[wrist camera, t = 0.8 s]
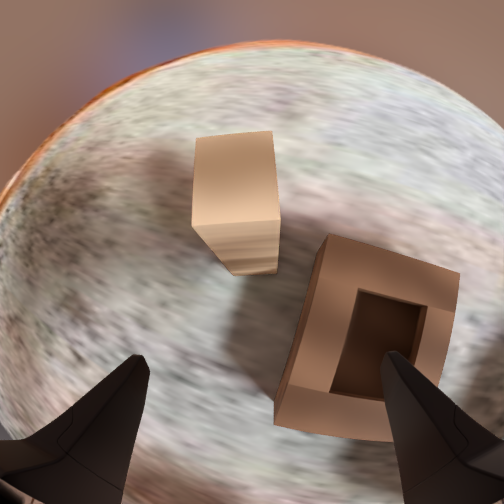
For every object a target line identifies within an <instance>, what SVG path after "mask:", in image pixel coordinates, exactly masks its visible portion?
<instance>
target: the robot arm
mask: <svg viewBox="0 0 504 504" xmlns="http://www.w3.org/2000/svg"><path fill="white" fill-rule="evenodd" d="M380 374H381V380H382V387H383V394H384V401H385V407H386V411H387V415H388V419H389V424H390V428H391V432H392V437H393V441H394V446H395V451H396V455H397V461H398V466H399V471H400V477H401V483H402V489H403V493H404V494H403V496H404V503H405V504H504V440H501V439H499V438H498V437H496V436H495V435H493V434H492V433H491V432H489V431H488V430H487V429H485V428H484V427H483V426H481V425H480V424H479V423H477V422H476V421H475V420H473V419H472V418H471V417H470V416H468V415H467V414H466V413H465V412H464V411H463V410H462V409H461V408H460V407H458V406H457V405H455V403H454V402H453V401H452V400H451V399H450V398H449V397H448V396H446V395H445V394H444V393H443V392H442V391H441V390H440V389H439V388H438V387H437V386H435V385H434V384H433V383H432V382H431V381H430V380H429V379H428V378H427V377H426V376H424V375H423V374H422V373H421V372H420V371H419V370H418V369H417V368H416V367H414V366H413V365H412V364H411V363H410V362H409V361H408V360H407V359H405V358H404V357H403V356H402V355H401V354H400V353H399V352H397V351H389V352H386V353H385V355H384V358H383V361H382V363H381V366H380ZM149 376H150V369H149V367H148V365H147V363H146V360H145V358H144V357H143V356H142V355H136V354H133V355H131V356H130V357H129V358H128V359H127V360H125V361H124V362H123V363H122V364H121V365H120V366H118V367H117V368H116V369H115V370H114V371H112V372H111V373H110V374H109V375H108V376H107V377H105V378H104V379H103V380H102V381H101V382H99V383H98V384H97V385H96V386H95V387H94V388H92V389H91V390H90V391H89V392H88V393H87V394H85V395H84V396H83V397H82V398H81V399H79V400H78V401H77V402H76V403H75V404H74V405H73V406H71V407H70V408H69V409H68V410H66V411H65V412H64V413H63V414H61V415H60V416H59V417H58V418H56V419H55V420H53V421H52V422H51V423H49V424H48V425H46V426H45V427H43V428H42V429H40V430H39V431H37V432H36V433H34V434H33V435H31V436H30V437H27V438H25V439H21V440H0V504H121V500H122V496H123V490H124V486H125V481H126V477H127V472H128V468H129V464H130V460H131V455H132V451H133V447H134V443H135V440H136V436H137V432H138V428H139V424H140V421H141V417H142V414H143V410H144V405H145V400H146V394H147V388H148V382H149Z"/></svg>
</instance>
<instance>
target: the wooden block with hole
mask: <svg viewBox="0 0 504 504" xmlns="http://www.w3.org/2000/svg"><path fill="white" fill-rule="evenodd" d="M459 280H460V273H457V272H454V271H451V270H448V269H445V268H442V267H439V266H436V265H433V264H430V263H427V262H424V261H420V260H417V259H414V258H411V257H408V256H405V255H401V254H398V253H395V252H392V251H388V250H385V249H382V248H378V247H375V246H371V245H368V244H365V243H361V242H358V241H354V240H351V239H347V238H344V237H340V236H337V235H333V234H328V236H327V237H326V239H325V241H324V242H323V244H322V246H321V247H320V249H319V251H318V252H317V255H316V259H315V263H314V267H313V271H312V275H311V279H310V283H309V287H308V290H307V294H306V298H305V302H304V305H303V309H302V313H301V316H300V320H299V323H298V327H297V330H296V334H295V337H294V340H293V344H292V347H291V350H290V354H289V357H288V360H287V363H286V366H285V370H284V373H283V376H282V379H281V382H280V385H279V388H278V391H277V394H276V397H275V400H274V425H277V426H281V427H286V428H290V429H295V430H300V431H305V432H310V433H316V434H322V435H328V436H335V437H342V438H350V439H359V440H370V441H384V442H394V441H393V437H392V432H391V428H390V424H389V419H388V415H387V411H386V407H385V401H384V394H383V387H382V380H381V374H380V366H381V363H382V361H383V358H384V355H385V353H386V352H389V351H397V352H399V353H400V354H401V355H402V356H403V357H404V358H405V359H407V360H408V361H409V362H410V363H411V364H412V365H413V366H414V367H416V368H417V369H418V370H419V371H420V372H421V373H422V374H423V375H424V376H426V377H427V378H428V379H429V380H430V381H431V382H432V383H433V384H434V385H435V386H437V387H438V384H439V381H440V377H441V374H442V370H443V367H444V363H445V359H446V355H447V351H448V346H449V342H450V337H451V333H452V327H453V322H454V316H455V310H456V304H457V297H458V289H459Z"/></svg>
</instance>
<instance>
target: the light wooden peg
mask: <svg viewBox="0 0 504 504" xmlns="http://www.w3.org/2000/svg"><path fill="white" fill-rule="evenodd" d="M280 222H281V218H280V207H279V195H278V184H277V174H276V164H275V154H274V144H273V135H272V131H261V132H248V133H237V134H227V135H218V136H209V137H202V138H196V147H195V161H194V178H193V199H192V227H193V228H194V230H195V231H196V232H197V233H198V234H199V236H200V237H201V238H202V239H203V240H204V242H205V243H206V244H207V245H208V246H209V248H210V249H211V250H212V251H213V252H214V253H215V255H216V256H217V257H218V258H219V259H220V261H221V262H222V263H223V264H224V265H225V266H226V268H227V269H228V270H229V271H230V272H231V273H232V275H233V276H244V275H261V274H277V267H278V253H279V238H280Z"/></svg>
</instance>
